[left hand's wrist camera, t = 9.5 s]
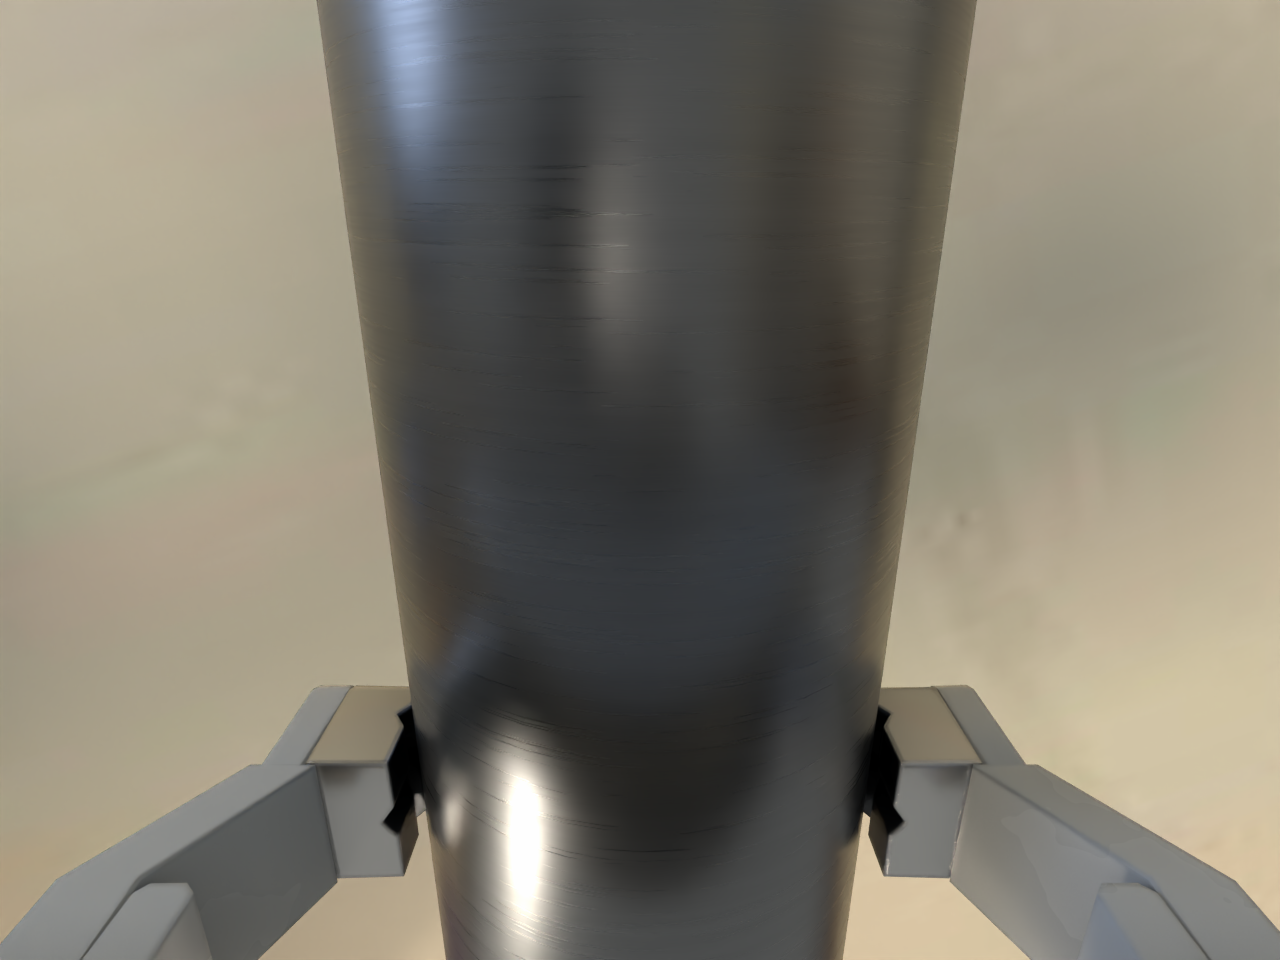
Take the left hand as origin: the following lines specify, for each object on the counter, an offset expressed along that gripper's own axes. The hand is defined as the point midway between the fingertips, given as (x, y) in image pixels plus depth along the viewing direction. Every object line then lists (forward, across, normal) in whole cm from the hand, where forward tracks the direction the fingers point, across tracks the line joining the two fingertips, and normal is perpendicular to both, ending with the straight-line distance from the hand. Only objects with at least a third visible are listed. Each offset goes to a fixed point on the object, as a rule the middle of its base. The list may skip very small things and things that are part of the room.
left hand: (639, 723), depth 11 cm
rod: (+3, 0, -10) cm, 10 cm away
